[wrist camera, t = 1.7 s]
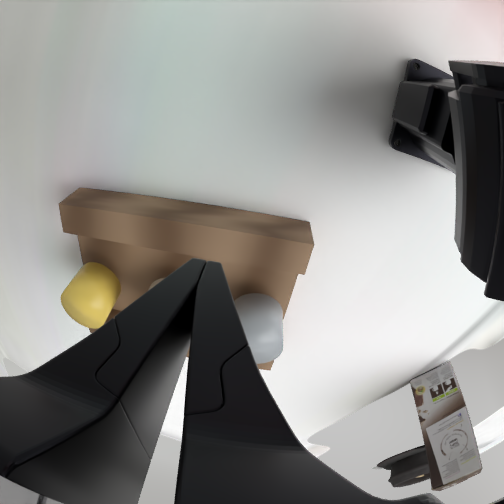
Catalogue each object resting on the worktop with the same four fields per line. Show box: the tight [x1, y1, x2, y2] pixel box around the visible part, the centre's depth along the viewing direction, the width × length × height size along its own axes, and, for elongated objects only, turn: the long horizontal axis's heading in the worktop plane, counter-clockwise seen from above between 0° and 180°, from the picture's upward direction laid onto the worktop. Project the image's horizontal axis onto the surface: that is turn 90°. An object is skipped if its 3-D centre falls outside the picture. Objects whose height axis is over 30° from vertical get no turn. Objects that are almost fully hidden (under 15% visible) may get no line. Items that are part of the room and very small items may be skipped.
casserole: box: [377, 445, 430, 487], centre depth 49 cm, size 25×19×8 cm
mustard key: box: [61, 262, 121, 329], centre depth 21 cm, size 4×4×3 cm
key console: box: [59, 188, 314, 370], centre depth 23 cm, size 18×14×3 cm
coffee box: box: [410, 362, 482, 491], centre depth 26 cm, size 9×6×16 cm
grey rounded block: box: [234, 293, 283, 364], centre depth 21 cm, size 4×4×3 cm
